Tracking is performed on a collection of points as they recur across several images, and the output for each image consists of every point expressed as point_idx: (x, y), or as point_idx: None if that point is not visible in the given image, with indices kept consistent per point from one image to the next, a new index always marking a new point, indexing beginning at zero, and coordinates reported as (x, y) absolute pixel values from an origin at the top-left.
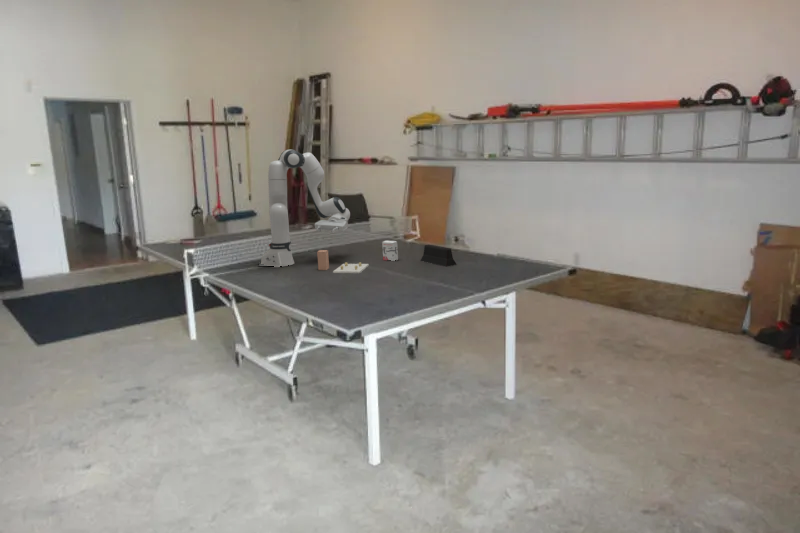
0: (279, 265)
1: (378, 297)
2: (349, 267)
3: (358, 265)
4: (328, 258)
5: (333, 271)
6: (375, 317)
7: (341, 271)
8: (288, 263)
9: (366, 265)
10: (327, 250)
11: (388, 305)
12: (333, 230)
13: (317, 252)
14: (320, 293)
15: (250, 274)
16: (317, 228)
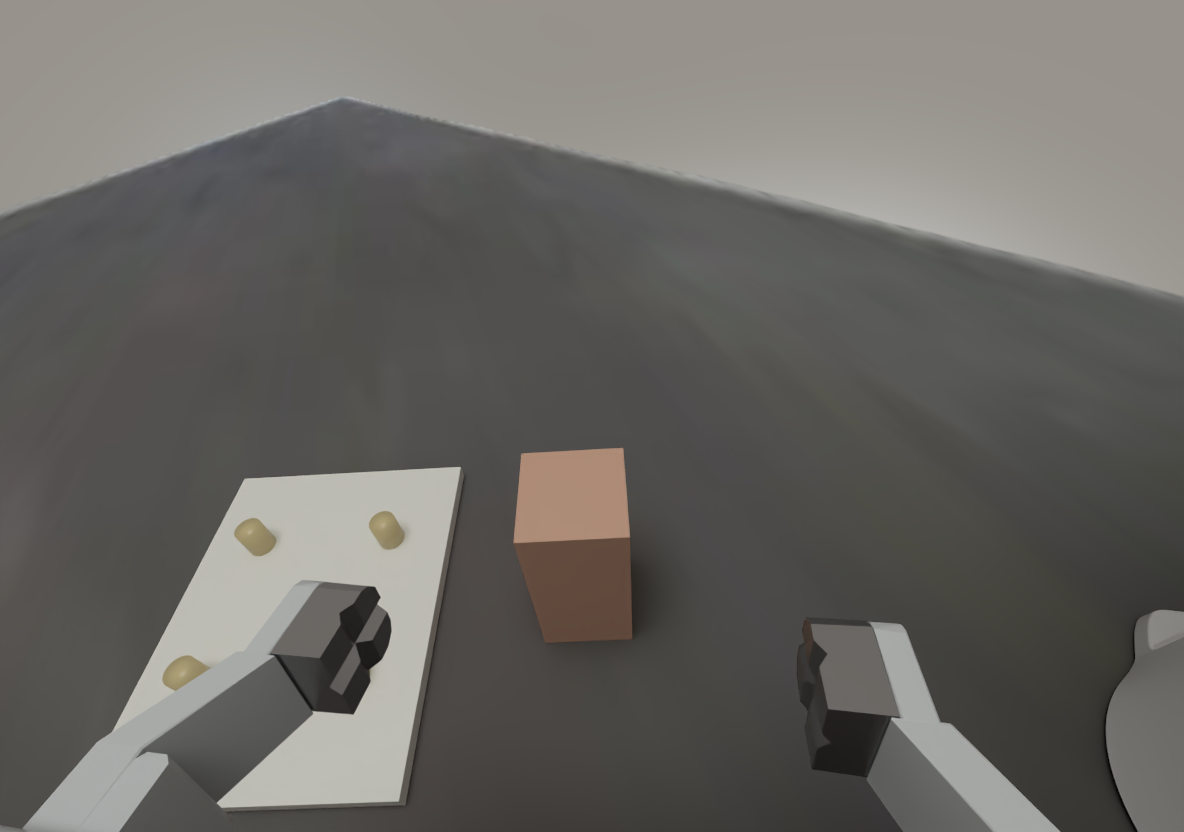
0: (1149, 626)
1: (235, 208)
2: None
3: None
4: (530, 593)
5: (456, 468)
6: (276, 131)
7: (391, 471)
8: (1130, 718)
9: (125, 714)
10: (515, 526)
11: (222, 174)
12: (306, 593)
13: (619, 453)
14: (453, 210)
15: (1099, 388)
16: (903, 629)
